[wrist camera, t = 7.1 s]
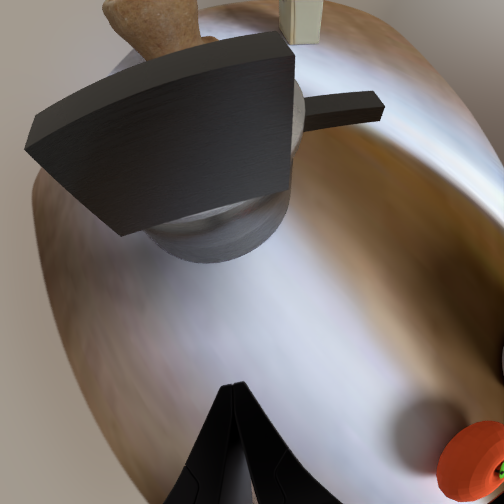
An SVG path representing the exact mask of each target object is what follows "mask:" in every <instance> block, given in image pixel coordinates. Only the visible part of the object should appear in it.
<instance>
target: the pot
mask: <svg viewBox="0 0 504 504" xmlns="http://www.w3.org/2000/svg"><path fill="white" fill-rule="evenodd" d="M304 101H305V119H304V128H303V132H306V131H312V130H318V129H324V128H330V127H337V126H344V125H351V124H359V123H367V122H376V121H380V119H381V116H382V114H383V111H384V108H385V106H384V104H383V103H382V102H381V100H380V99H379V98H378V96H377V95H376V94H375V92H374V91H362V92H349V93H339V94H329V95H321V96H313V97H306V98H304ZM292 167H293V159H292V161H291V162H290V177H289V190H286V191H281V192H277V193H273V194H269V195H265V196H261V197H257V198H253V199H249V200H247V201H246V202H244V203H242V204H241V205H238V206H236V207H234V208H232V209H230V210H227V211H225V212H223V213H220V214H217V215H214V216H211V217H208V218H205V219H200V220H196V221H191V222H185V223H176V224H160V225H157V226H153V227H150V228H147V229H144V230H143V231H144V232H145V233H146V234H147V235H148V236H149V237H150V238H152V239H153V240H154V241H155V242H156V243H157V244H158V245H159V246H160V247H161V248H162V249H164V250H165V251H166V252H168V253H169V254H171V255H173V256H175V257H177V258H180V259H183V260H186V261H190V262H195V263H219V262H224V261H229V260H232V259H235V258H238V257H241V256H243V255H245V254H247V253H249V252H251V251H252V250H254V249H256V248H257V247H259V246H260V245H261V244H262V243H264V242H265V241H266V240H267V239H268V238H269V237H270V236H271V235H272V234H273V233H274V232H275V231H276V229H277V228H278V226H279V225H280V223H281V222H282V220H283V218H284V216H285V214H286V211H287V208H288V205H289V200H290V193H291V180H292Z"/></svg>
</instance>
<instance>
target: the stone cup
mask: <svg viewBox="0 0 504 504" xmlns="http://www.w3.org/2000/svg"><path fill="white" fill-rule="evenodd" d="M102 10H103V12H104V15H105V16H106V18H107V19H108V21H109V23H110V25H111V27H112V28H113V29H114V31H115V32H116V33H117V34H118V35H120V36H121V37H122V38H123V39H124V40H125V41H127V42H128V43H129V44H130V45H131V46H132V47H133V48H134V49H135V50H136V51H137V52H138V53H139V54H140V55H141V56H142V57H143V58H144V59H145V60H146V61H149V60H152V59H154V58H157V57H160V56H164V55H167V54H170V53H173V52H176V51H180V50H183V49H187V48H191V47H194V46H198V45H202V44H206V43H210V42H215V41H219V40H218V39H216V38H215V37H212V36H206V37H201V35H200V31H199V24H198V5H197V0H106V1H105V2H104V4H103V7H102Z"/></svg>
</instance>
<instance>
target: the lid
mask: <svg viewBox="0 0 504 504" xmlns="http://www.w3.org/2000/svg"><path fill="white" fill-rule="evenodd" d="M294 76H295V54H294V53H293V52H292V50H291V49H290V48H289V46H288V45H287V44H286V43H285V41H284V40H283V39H282V38H281V36H280V35H279V34H278V33H277V31H272V32H265V33H258V34H251V35H245V36H239V37H234V38H229V39H224V40H219V41H215V42H210V43H206V44H202V45H198V46H194V47H191V48H187V49H183V50H180V51H176V52H173V53H170V54H167V55H164V56H160V57H157V58H154V59H152V60H149V61H146V62H143V63H140V64H138V65H135V66H132V67H130V68H127V69H125V70H122V71H120V72H118V73H115V74H113V75H111V76H108V77H106V78H104V79H102V80H99V81H97V82H95V83H93V84H91V85H89V86H87V87H85V88H83V89H81V90H79V91H77V92H75V93H73V94H72V95H70V96H68V97H66V98H64V99H62V100H60V101H58V102H57V103H55V104H53V105H51V106H50V107H48V108H46V109H45V110H43V111H42V112H40V113H39V114H37V115H36V116H35V118H34V121H33V124H32V127H31V130H30V132H29V135H28V139H27V142H26V145H25V148H24V150H25V151H26V152H27V153H28V154H29V155H30V156H31V157H32V158H33V159H34V160H35V161H36V162H37V163H38V164H40V166H41V167H43V168H44V169H45V170H46V171H47V172H48V173H49V174H50V175H51V176H52V177H53V178H54V179H55V180H56V181H57V182H59V183H60V184H61V185H62V186H63V187H64V188H65V189H66V190H67V191H68V192H70V193H71V194H72V195H73V196H74V197H75V198H76V199H77V200H78V201H80V202H81V203H82V204H83V205H84V206H85V207H86V208H88V209H89V210H90V211H91V212H92V213H93V214H95V215H96V216H97V217H98V218H99V219H100V220H102V221H103V222H104V223H105V224H106V225H108V226H109V227H110V228H111V229H112V230H114V231H115V232H116V233H117V234H118V235H120V236H121V237H122V236H125V235H128V234H131V233H134V232H137V231H141V230H144V229H147V228H150V227H153V226H157V225H160V224H176V223H185V222H191V221H196V220H200V219H205V218H208V217H211V216H214V215H217V214H220V213H223V212H225V211H227V210H230V209H232V208H234V207H236V206H238V205H241V204H242V203H244V202H246V201H247V200H249V199H253V198H257V197H261V196H265V195H269V194H273V193H277V192H281V191H286V190H289V177H290V162H291V161H292V159H293V157H294V155H295V154H296V152H297V150H298V148H299V145H300V142H301V139H302V135H303V128H304V119H305V101H304V97H303V94H302V91H301V89H300V87H299V85H298V83H297V81H296V80H295V79H294Z"/></svg>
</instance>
